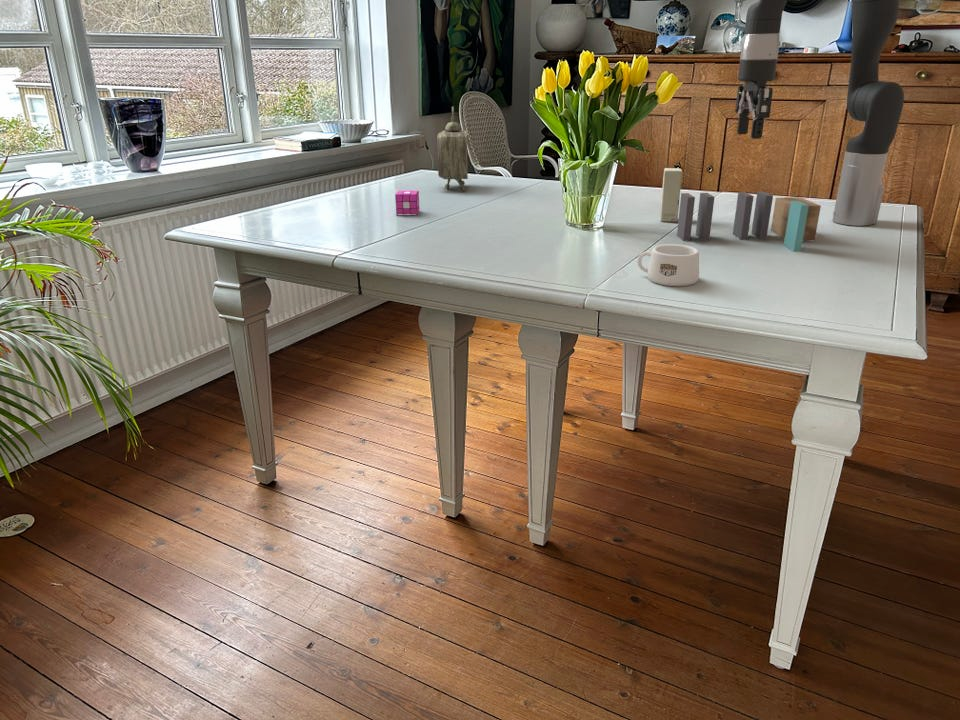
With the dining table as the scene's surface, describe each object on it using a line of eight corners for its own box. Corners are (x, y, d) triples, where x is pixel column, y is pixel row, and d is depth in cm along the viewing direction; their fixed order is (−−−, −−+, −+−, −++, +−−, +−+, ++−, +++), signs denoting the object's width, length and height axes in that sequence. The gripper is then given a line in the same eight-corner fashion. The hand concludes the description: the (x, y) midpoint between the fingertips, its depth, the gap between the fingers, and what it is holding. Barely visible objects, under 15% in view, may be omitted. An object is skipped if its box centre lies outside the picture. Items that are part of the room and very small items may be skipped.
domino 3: (739, 234, 170) (745, 191, 166) (747, 239, 166) (753, 196, 162) (732, 234, 170) (738, 192, 166) (740, 239, 166) (746, 196, 162)
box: (677, 222, 182) (682, 171, 177) (659, 221, 183) (664, 170, 178) (676, 218, 187) (681, 167, 182) (659, 217, 188) (663, 167, 182)
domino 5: (790, 245, 160) (798, 200, 156) (800, 251, 156) (808, 205, 152) (783, 245, 160) (790, 200, 156) (793, 251, 156) (801, 205, 152)
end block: (794, 230, 173) (800, 197, 170) (814, 240, 164) (820, 205, 161) (770, 230, 173) (775, 197, 170) (788, 241, 164) (794, 206, 160)
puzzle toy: (417, 215, 193) (416, 194, 191) (396, 215, 193) (395, 194, 191) (419, 211, 198) (418, 190, 196) (399, 211, 199) (398, 190, 196)
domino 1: (683, 235, 170) (688, 193, 166) (690, 240, 165) (695, 197, 161) (676, 235, 170) (681, 193, 166) (683, 240, 165) (688, 197, 161)
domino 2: (702, 235, 170) (707, 192, 166) (709, 240, 165) (714, 196, 161) (695, 235, 170) (700, 192, 166) (702, 240, 165) (707, 197, 161)
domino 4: (757, 233, 170) (764, 191, 166) (766, 239, 166) (773, 195, 162) (751, 233, 170) (757, 191, 166) (759, 239, 166) (766, 195, 162)
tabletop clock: (467, 193, 222) (466, 108, 212) (438, 193, 222) (436, 108, 212) (467, 184, 235) (466, 104, 225) (440, 185, 235) (437, 104, 225)
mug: (703, 276, 140) (706, 246, 137) (691, 290, 132) (695, 258, 130) (643, 269, 145) (645, 240, 143) (628, 282, 137) (631, 251, 135)
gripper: (790, 57, 146) (778, 139, 152) (763, 56, 159) (753, 132, 165) (753, 58, 146) (743, 140, 152) (730, 57, 159) (721, 133, 165)
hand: (748, 136), depth 159 cm, fingers open, 8 cm apart
